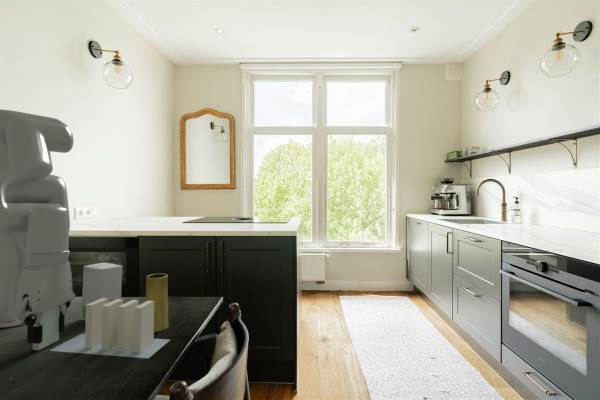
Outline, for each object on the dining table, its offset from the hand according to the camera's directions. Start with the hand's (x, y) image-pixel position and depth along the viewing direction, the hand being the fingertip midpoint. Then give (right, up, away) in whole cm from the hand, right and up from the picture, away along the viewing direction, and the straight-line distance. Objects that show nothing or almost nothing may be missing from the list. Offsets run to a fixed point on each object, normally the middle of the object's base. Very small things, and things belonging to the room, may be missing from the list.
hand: (46, 336), depth 72 cm
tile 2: (+11, -2, +1) cm, 11 cm away
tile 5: (+23, -2, 0) cm, 23 cm away
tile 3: (+15, -2, +1) cm, 15 cm away
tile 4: (+19, -2, 0) cm, 19 cm away
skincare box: (+2, -3, +18) cm, 18 cm away
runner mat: (+15, -3, +1) cm, 15 cm away
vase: (+20, -3, +11) cm, 24 cm away
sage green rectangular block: (0, -2, 0) cm, 2 cm away
